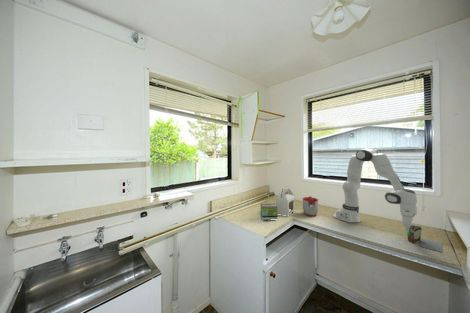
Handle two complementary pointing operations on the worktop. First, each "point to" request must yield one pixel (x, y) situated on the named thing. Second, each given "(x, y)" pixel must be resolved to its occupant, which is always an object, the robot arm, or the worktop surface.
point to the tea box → (268, 211)
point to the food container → (414, 234)
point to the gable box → (285, 202)
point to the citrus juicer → (310, 206)
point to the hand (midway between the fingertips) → (408, 229)
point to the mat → (431, 245)
